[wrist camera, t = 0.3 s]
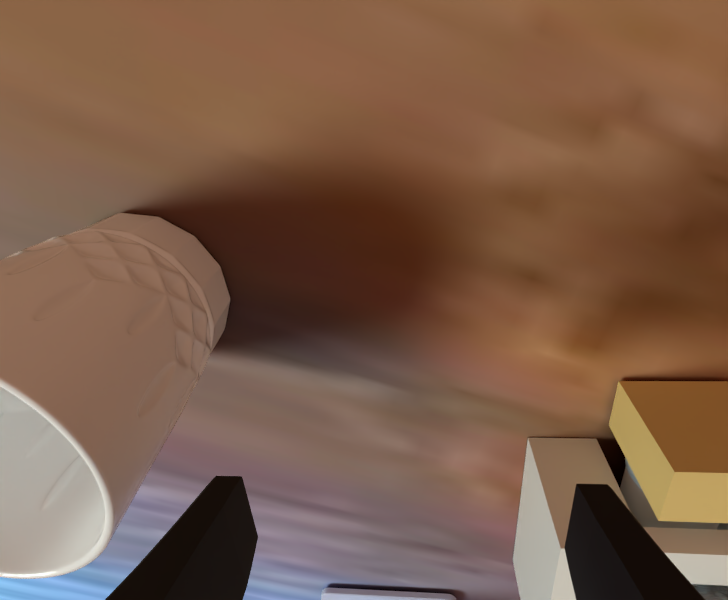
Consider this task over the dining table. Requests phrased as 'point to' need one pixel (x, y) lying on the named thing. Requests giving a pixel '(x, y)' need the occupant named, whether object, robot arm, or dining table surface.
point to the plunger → (712, 591)
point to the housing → (552, 514)
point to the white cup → (95, 379)
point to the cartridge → (674, 451)
